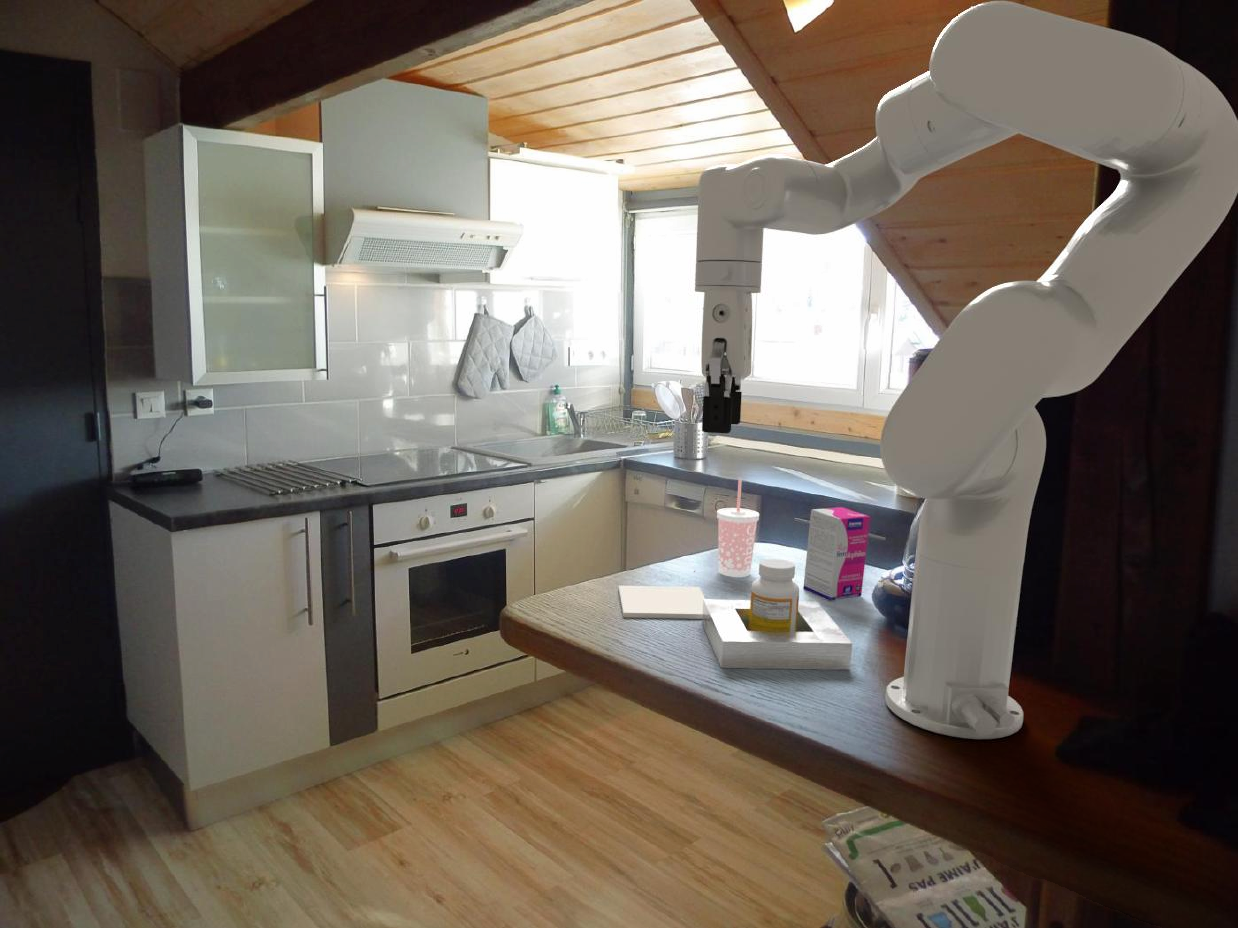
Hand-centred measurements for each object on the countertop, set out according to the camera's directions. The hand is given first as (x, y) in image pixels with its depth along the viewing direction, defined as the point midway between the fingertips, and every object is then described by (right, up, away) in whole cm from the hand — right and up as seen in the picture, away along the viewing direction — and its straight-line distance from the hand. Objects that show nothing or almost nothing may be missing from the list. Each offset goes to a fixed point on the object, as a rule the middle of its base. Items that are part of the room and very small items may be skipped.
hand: (721, 427), depth 107 cm
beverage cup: (+5, -20, +26) cm, 33 cm away
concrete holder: (+5, -25, -2) cm, 26 cm away
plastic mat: (-6, -22, +11) cm, 26 cm away
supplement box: (+17, -22, +18) cm, 33 cm away
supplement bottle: (+5, -25, -2) cm, 26 cm away
